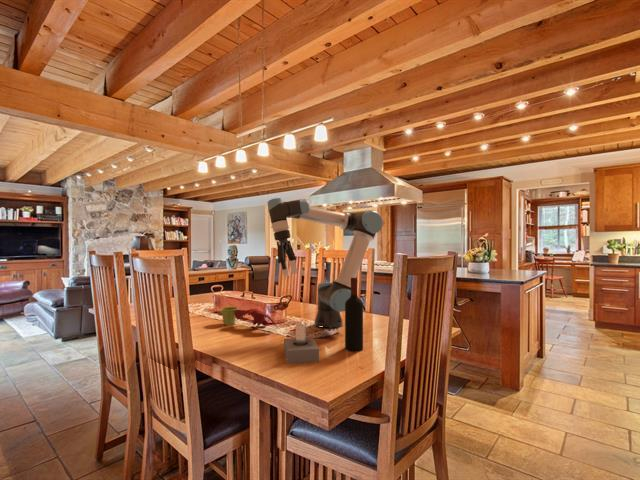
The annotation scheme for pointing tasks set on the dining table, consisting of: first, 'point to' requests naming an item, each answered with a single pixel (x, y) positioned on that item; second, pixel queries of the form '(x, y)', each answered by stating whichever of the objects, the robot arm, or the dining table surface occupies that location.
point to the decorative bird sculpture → (254, 316)
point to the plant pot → (228, 315)
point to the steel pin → (300, 333)
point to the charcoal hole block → (301, 351)
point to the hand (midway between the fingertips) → (290, 275)
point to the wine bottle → (354, 320)
